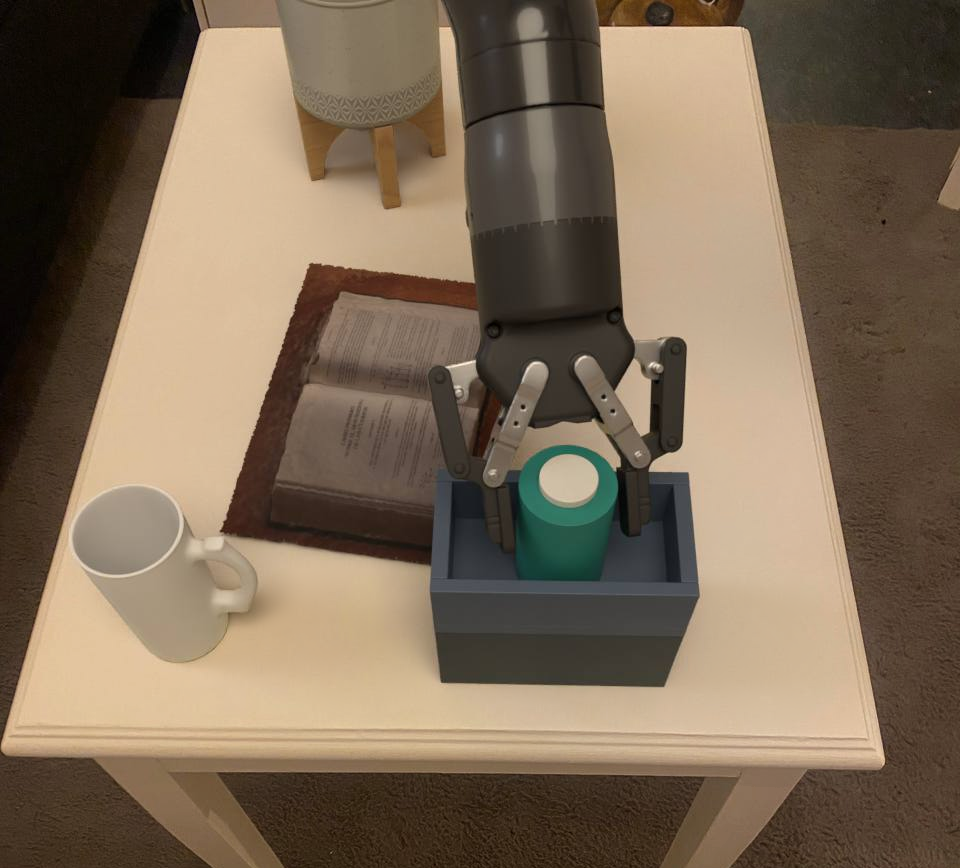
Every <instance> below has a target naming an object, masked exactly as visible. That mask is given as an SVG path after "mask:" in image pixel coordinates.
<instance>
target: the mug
mask: <svg viewBox="0 0 960 868" xmlns="http://www.w3.org/2000/svg"><path fill="white" fill-rule="evenodd" d="M67 536H68V537H67V539H68V540H67V541H68V546H69V549H70V550H69V551H70V553H71V555H72V557H73V559H74V560H75V562H76V563H77V564H78V565H79V567H80V568H81V570H83V572H84V573H85V574H86V576H87V577H88V578H89V580H90V581H91V582H92V583H93V585H94V586H95V587H96V588H97V590H98V591H99V592H100V594H102V596H103V597H104V599H106V601H107V602H108V603H109V604H110V606H111V607H112V609H113V610H114V611H115V612H116V613H117V614H118V616H119V618H121V620H123V622H124V623H125V625H126V626H127V627H128V628H129V629H130V631H131V632H132V633H133V635H135V637H136V638H137V639H138V640H139V641H140V643H141V644H142V645H143V646H144V647H145V649H146V650H147V652H149V653H150V654H151V655H153V656H154V657H156V658H158V659H159V660H163V661H166V662H170V663H185V662H191V661H194V660H197V659H199V658H201V657H203V656H205V655H207V654H209V653H210V652H211V651H212V650H213V649H215V648H216V647H217V646H218V645H219V644H220V642H221V641H222V639H223V638H224V636H225V634H226V631H227V629H228V626H229V625H228V624H229V613H241V614H242V613H244V614H245V613H247V612H248V611H249V610H250V609H251V606H252V604H253V601H254V598H255V595H256V593H257V589H258V584H259V579H258V574H257V571H256V569H255V567H254V566H253V564H252V563H251V561H249V559H247V558H246V556H244V554H242V553H241V552H240V551H239V550H238V549H236V548H235V547H234V546H233V545H231V544H230V543H229V542H228V541H227V540H226V538H225V536H223V535H218V536H217V535H215V536H207V537H205V539H199V538H196V537H195V535H194V533H193V530H192V528H191V526H190V524H189V522H188V520H187V518H186V516H185V514H184V513H183V510H182V508H181V506H180V504H179V502H178V501H177V500H176V498H175V497H174V496H173V495H172V494H171V493H169V492H167V491H166V490H165V489H163V488H161V487H158V486H156V485H153V484H149V483H138V482H137V483H133V482H132V483H125V484H119V485H116V486H112V487H110V488H107V489H105V490H102V491H101V492H99V493H97V494H96V495H94V496H93V497H91V498H90V499H89V500H87V502H85V503H84V504H83V505H81V507H80V509H79V510H78V511H77V513H76V514H75V515H74V516H73V519H72V521H71V523H70V526H69V530H68V535H67ZM207 561H214V562H218V563H221V564H223V565H226V566H227V567H229V568H231V569H232V570H233V571H234V572H235V573H236V574H237V575H238V576H239V579H240V583H241V585H240V586H239V587H237V588H236V589H220V588H219V586H218V584H217V581H216V579H215V578H214V575H213V574H212V571H211V569H210V567H209V564H208V563H207Z"/></svg>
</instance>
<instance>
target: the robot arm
mask: <svg viewBox="0 0 960 868" xmlns="http://www.w3.org/2000/svg"><path fill="white" fill-rule="evenodd" d="M440 3H441V6H442V8H443V11H444V13H445V15H446V18H447V21H448V24H449V26H450V29H451V33H452V36H453V41H454V48H455V61H456V72H457V73H456V75H457V84H458V93H459V102H460V112H461V122H462V129H463V131H464V132H463V141H464V142H463V144H464V157H463V158H464V159H463V160H464V162H463V165H464V166H463V177H464V179H463V182H464V183H463V184H464V194H465V204H466V206H465V207H466V208H465V214H464V215H465V222H466V227H467V228H468V232H469V240H470V241H469V242H470V250H471V261H472V268H473V277H474V283H475V288H476V297H477V306H478V316H479V325H480V344H479V348H478V351H477V353H476V355H475V359H473V360H469V361H464V362H460V363H455V364H451V365H446V366H442V365H439V364H435V365H432V366H431V367H430V368H429V369H428V370H427V373H426V378H427V383H428V387H429V392H430V396H431V401H432V405H433V410H434V415H435V419H436V424H437V428H438V433H439V437H440V442H441V446H442V451H443V455H444V460H445V465H446V468H447V470H448V472H449V474H450V475H451V476H452V477H453V478H455V479H458V480H460V479H463V480H467V481H471V482H475V483H477V484H478V485H480V487H481V490H482V499H483V508H484V517H485V525H486V532H487V534H488V536H489V538H490V539H491V541H492V543H493V545H494V544H500V548H501V550H502V552H503V554H505V553H512V552H516V545H515V535H514V526H513V516H512V506H511V497H510V487H509V486H508V485H507V483H506V482H505V477H506V475H507V472H508V470H510V467H511V464H512V462H513V460H514V457H515V455H516V452H517V451H518V450H519V448H520V446H521V443H522V442H523V439H524V436H525V434H526V432H527V429H528V428H532V429H534V430H538V429H539V430H540V429H546V428H550V427H553V426H555V425H558V424H559V423H562V422H566V423H572V424H585V423H592V422H593V421H594V422H595V424H596V425H597V426H598V428H599V429H600V431H601V432H602V433H603V434H604V435H605V437H606V438H607V440H608V442H609V444H611V447H613V450H614V451H615V452H616V454H617V455H618V457H619V461H620V466H616V467H615V471H616V474H617V481H618V503H619V517H620V528H621V531H622V533H623V534H624V535H625V536H627V537H635V536H641V525H647V524H648V523H649V520H650V517H651V505H650V487H649V472H650V468H651V465H652V464H653V462H654V461H656V460H657V459H659V458H661V457H664V456H666V455H667V454H672V453H673V454H674V453H676V452H678V451H679V450H680V449H681V448H682V446H683V444H684V426H685V422H684V421H685V402H686V381H687V380H686V377H687V356H688V355H687V354H688V346H687V345H688V344H687V343H686V341H685V340H684V339H683V338H682V337H680V336H672V335H671V336H662V337H659V338H656V339H636V340H635V339H634V338H633V336H632V335H631V333H630V331H629V330H628V328H627V326H626V322H625V319H624V303H623V302H624V301H623V287H622V271H621V269H622V268H621V254H620V241H619V224H618V223H619V222H618V208H617V193H616V191H617V190H616V176H615V166H614V165H615V164H614V157H613V150H612V147H611V141H610V137H609V131H608V125H607V115H606V107H605V106H606V105H605V91H604V90H605V89H604V77H603V76H604V75H603V61H602V59H603V57H602V42H601V28H600V21H599V14H598V8H597V4H596V0H440ZM633 360H635V361H637V362H638V364H639V367H640V372H641V374H642V375H641V376H643V377H644V378H645V379H646V380H650V398H649V399H650V401H649V402H650V403H649V404H650V405H649V431H648V432H647V433H645V434H642V435H640V433H639V432H638V430H637V428H636V426H635V425H634V422H633V419H632V418H631V416H630V414H629V413H628V411H627V410H626V408H625V406H624V405H623V403H622V402H621V400H620V398H619V397H618V395H617V394H616V390H617V388H618V387H619V385H620V383H621V381H622V380H623V378H624V376H625V375H626V373H627V371H628V370H629V367H630V366H631V364H632V362H633ZM475 378H479V379H480V380H481V381H482V383H483V384H484V385H485V386H486V387H487V388H488V389H489V390H490V392H491V393H492V394H493V395H494V396H495V397H496V398H497V400H498V401H499V402H500V403H501V404H502V407H501V409H500V412H499V415H498V417H497V420H496V422H495V425H494V427H493V430H492V433H491V438H490V441H489V443H488V446H487V448H486V451H485V453H484V456H483V458H478V457H474V456H470V455H468V453H467V448H466V443H465V438H464V434H463V429H462V424H461V419H460V415H459V410H458V405H460V404H463V403H464V402H466V401H467V399H468V397H469V386H470V384H471V382H472V381H473V380H474V379H475Z"/></svg>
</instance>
